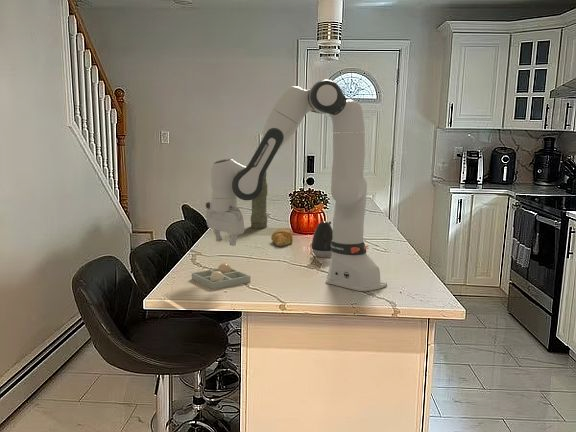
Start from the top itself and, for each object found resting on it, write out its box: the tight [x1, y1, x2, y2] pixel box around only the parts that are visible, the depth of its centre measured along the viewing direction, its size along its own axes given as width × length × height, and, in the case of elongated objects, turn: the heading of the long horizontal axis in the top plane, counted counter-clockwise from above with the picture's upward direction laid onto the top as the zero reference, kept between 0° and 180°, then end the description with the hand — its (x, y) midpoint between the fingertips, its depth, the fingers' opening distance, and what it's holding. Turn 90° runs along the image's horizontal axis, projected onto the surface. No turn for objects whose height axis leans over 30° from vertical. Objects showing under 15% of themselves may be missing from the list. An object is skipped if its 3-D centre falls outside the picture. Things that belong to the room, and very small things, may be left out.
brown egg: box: [217, 262, 232, 274], centre depth 200 cm, size 5×5×5 cm
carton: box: [191, 267, 251, 290], centre depth 195 cm, size 15×15×3 cm
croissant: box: [270, 228, 293, 247], centre depth 260 cm, size 21×10×8 cm, turn 174°
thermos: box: [250, 171, 268, 229], centre depth 296 cm, size 9×12×35 cm
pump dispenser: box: [311, 220, 333, 259], centre depth 234 cm, size 10×10×15 cm
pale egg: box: [210, 271, 224, 282], centre depth 189 cm, size 5×5×5 cm
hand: (225, 243), depth 198 cm, fingers open, 8 cm apart
